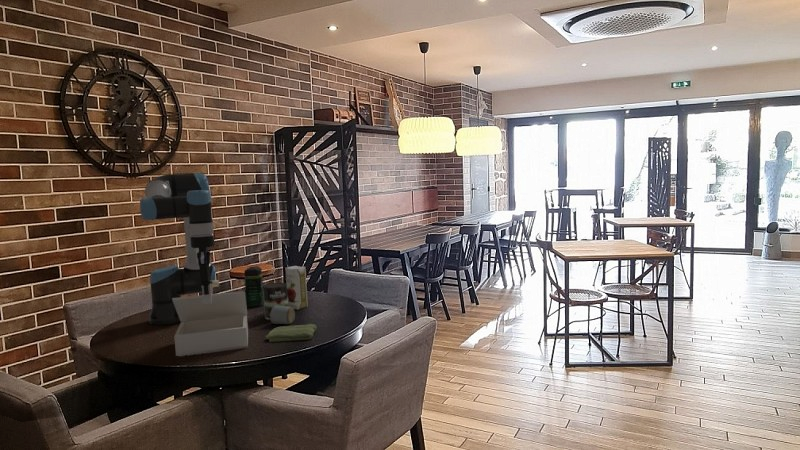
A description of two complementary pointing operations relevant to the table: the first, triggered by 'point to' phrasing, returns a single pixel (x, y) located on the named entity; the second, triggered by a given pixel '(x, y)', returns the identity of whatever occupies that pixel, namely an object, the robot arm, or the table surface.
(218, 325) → the box
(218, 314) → the lid
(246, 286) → the coffee jar
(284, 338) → the washcloth
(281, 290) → the coffee can
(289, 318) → the ceramic mug
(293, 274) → the juice carton
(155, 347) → the table surface
